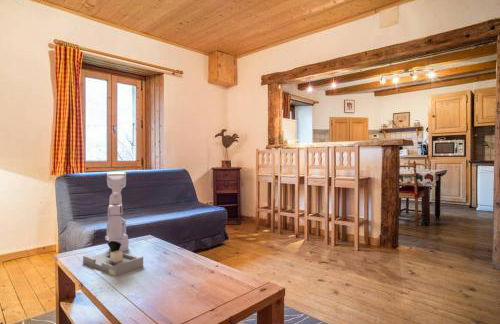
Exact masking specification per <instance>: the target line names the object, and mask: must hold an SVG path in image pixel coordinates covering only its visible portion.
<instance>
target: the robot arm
mask: <svg viewBox="0 0 500 324" xmlns="http://www.w3.org/2000/svg"><path fill="white" fill-rule="evenodd" d="M106 183H107V184H106V185H107V187H108V188H109V189H111V194H110V195H109V200H108V201H109V202H108V203H109V204H108V205H107V222H106V235H105V236H104V239H105V241H107V245H108V249H107V250H105V253H107V252H109V249H111V252H114V251H117V250H119V251H122V252H123V253H124V252H126V251H129V250H130V248H129V236H128V234H127V224H126V222H127V221H126V219H124V218H123V217H122V216H123V202H122V201H123V199H122V198H123V197H122V190H123V188H126V185H127V173H126V171H124V172H109V171H108V172H107V174H106Z"/></svg>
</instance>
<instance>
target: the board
mask: <svg viewBox="0 0 500 324" xmlns="http://www.w3.org/2000/svg"><path fill="white" fill-rule="evenodd" d="M108 250H109V252H104V253H100V254H99V253H98V254H97V255H92V256H89V255H83V256H82V259H83V260H82V262H83V264H84V265H87V266H90V267H93V268H95V269H98V270H100V271H102V272H105V273H107V274H110V275H112V276H114V277H116V276H120V275H123V274H125V273H128V272H131V271H134V270H137V269H140V268H143V267H144V256H140V257H138V256H136V255H132V254H128V253H125V252H123V260H121V261H118V262H113V261H110V252H111V249H109V248H108Z"/></svg>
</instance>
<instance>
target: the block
mask: <svg viewBox="0 0 500 324" xmlns="http://www.w3.org/2000/svg"><path fill="white" fill-rule="evenodd" d="M123 253H124V251H123V252H122V251H119V250H117V251H114V252H110V261H113V262H118V261H121V260H123Z"/></svg>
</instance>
